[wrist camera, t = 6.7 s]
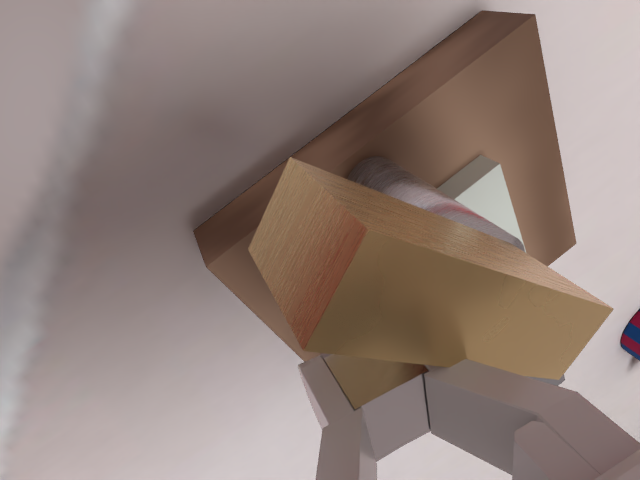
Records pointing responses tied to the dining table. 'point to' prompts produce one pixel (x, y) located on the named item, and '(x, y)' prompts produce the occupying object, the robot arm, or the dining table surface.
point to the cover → (487, 201)
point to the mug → (632, 337)
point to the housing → (428, 148)
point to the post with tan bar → (413, 276)
